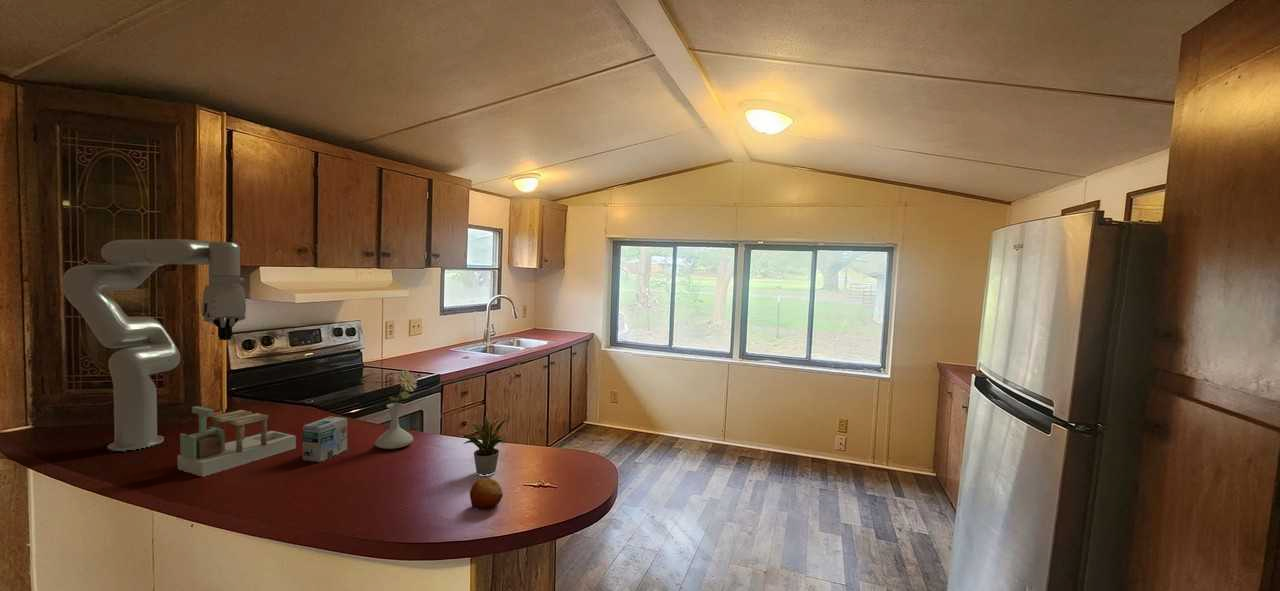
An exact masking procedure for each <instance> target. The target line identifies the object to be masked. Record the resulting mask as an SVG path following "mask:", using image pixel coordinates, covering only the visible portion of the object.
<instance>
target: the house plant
mask: <svg viewBox="0 0 1280 591" xmlns="http://www.w3.org/2000/svg"><path fill="white" fill-rule="evenodd" d="M510 419H511V417H509V418H505V419H503V420H498V421H495V423H493V421H491V422H490V421H489V419H488V417H487V416H485V417H484V427H483V426H482V425H481V424H480V423H479V422H477V421H476V420H475V423H477V424H478V425H479V426H480V427H479V426H478V425H477V424H475V423H472V422H469V421H466V424H470V426H471V427H473V428H474V429H475V430H476V432H477V434H476V432H474V431H473V430H472V429H471V428H468V427H467V429H468V430H470V431H472V432H473V433H475V435H476V436H478V438H479V439H478V438H476V437H475V436H472V435H470V434H467V433H463V432H459V434H460V435H461V436H464V437H465V438H466V439H468V440H467V441H465V442H464V443H463V445H465V444H469V443H472V444H474V445H475V446H476V447H477V448H478V449H476V450H474V452H473V459H474V464H475V469H476V470H475V471H476V474H477V473H478V474H482V475H486V474H491V473H493V472H495V471H496V472H497V465H498V460H499V454H500V449H498V448H495V446H496V445H498V444H500V443H503V444H505V440H504V439H502V438H505V436H502V435H499V434H500V433H501V431H500V430H503V429H504V428H505V426H504V427H502V426H503V425H504V423H506V421H508V420H510ZM489 422H490V423H489ZM499 422H500V423H499ZM497 423H499V424H498V425H497ZM496 425H497V427H496V428H495V431H494V432H493V430H494V427H495V426H496ZM492 432H493V433H492ZM496 472H495V473H496Z"/></svg>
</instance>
